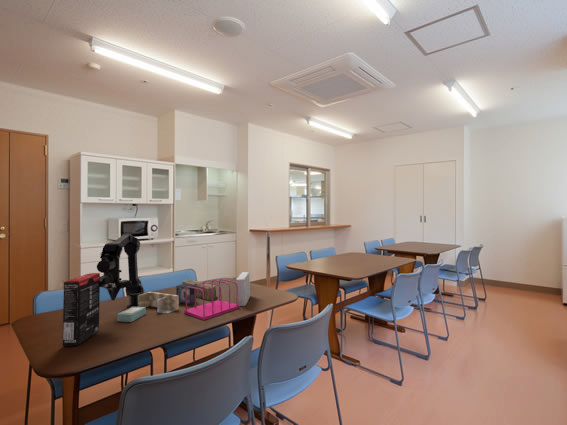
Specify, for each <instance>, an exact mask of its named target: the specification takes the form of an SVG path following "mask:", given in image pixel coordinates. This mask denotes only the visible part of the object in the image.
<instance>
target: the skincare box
mask: <svg viewBox="0 0 567 425" xmlns="http://www.w3.org/2000/svg"><path fill="white" fill-rule="evenodd" d="M250 278H251V277H250V272H249V271H242V272H241V273H240V274H239V275H238V277H237V278H236V281H235V282H236V283H237V286H238V305H239V307H245V306H246V305H247V304H248V302H249V299H250V297H251V284H250V280H251V279H250Z"/></svg>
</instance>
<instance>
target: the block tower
mask: <svg viewBox="0 0 567 425" xmlns="http://www.w3.org/2000/svg"><path fill="white" fill-rule="evenodd" d="M203 283H205V282H203V281H197V280H194V279H193V278H192V279H187V280H182V281H181V284H189V285H197V284H199V285H203ZM204 286H208V287H211V288H212V284H207V283H205V284H204ZM208 287H204V300H207V301H208V300H209V301H211V289H210V288H208ZM196 288H199V289H202V290H203V286H198V285H197V286H196ZM196 298H201V299H203V293H202V291H201V290H198V289H196ZM215 298H217V285H213V299H215Z"/></svg>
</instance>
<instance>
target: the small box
mask: <svg viewBox="0 0 567 425" xmlns="http://www.w3.org/2000/svg"><path fill="white" fill-rule="evenodd" d="M188 286H190V287H195V285H189V284H182V283H181V284H179V285H176V288H175V289H176V293H175V295H179V304H183V305H186V298H185V289H186V287H188ZM192 304H195V289H194V288H189V287H188V288H187V306H188V305H190V306H191V305H192Z"/></svg>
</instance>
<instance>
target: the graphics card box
mask: <svg viewBox="0 0 567 425" xmlns="http://www.w3.org/2000/svg"><path fill="white" fill-rule="evenodd" d="M100 277H101V272H92V273H90V272H89V273H86V274H83V275H80V276H77V277H74V278H72V279H69V280H66V281H64V282H63V301H62V302H63V306H62V311H63V314H62V315H63V316H62V346H63V347H67V346H68V347H71V346H73V347H74V346H76V347H77V346H79V345H81V344H83V342H85V341H87V340H88V339H89V338H91V337H92V336H94V335H95V334H96V333H98V332H99V331H100V301H101V300H100V299H101V297H100V296H101V295H100V293H101V290H100V288H101V287H100V284H99V281H100Z"/></svg>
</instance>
